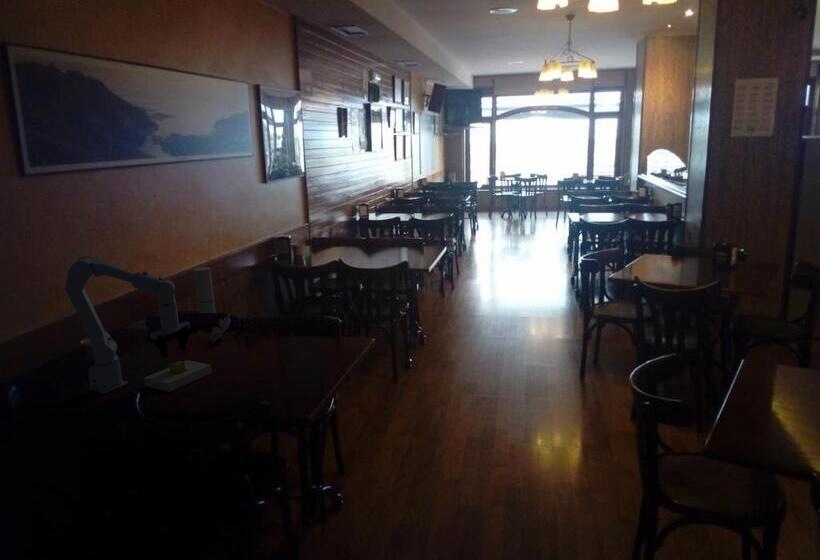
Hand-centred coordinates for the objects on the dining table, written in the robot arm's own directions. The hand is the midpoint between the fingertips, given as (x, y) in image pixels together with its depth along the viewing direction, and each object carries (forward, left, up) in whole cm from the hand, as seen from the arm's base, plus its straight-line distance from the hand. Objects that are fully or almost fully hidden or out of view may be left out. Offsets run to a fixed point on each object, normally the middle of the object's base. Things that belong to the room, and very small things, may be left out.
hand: (173, 353), depth 213 cm
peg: (-1, -3, -9) cm, 9 cm away
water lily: (+36, +17, -9) cm, 41 cm away
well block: (-1, -3, -9) cm, 9 cm away
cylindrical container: (+50, +39, -9) cm, 64 cm away
